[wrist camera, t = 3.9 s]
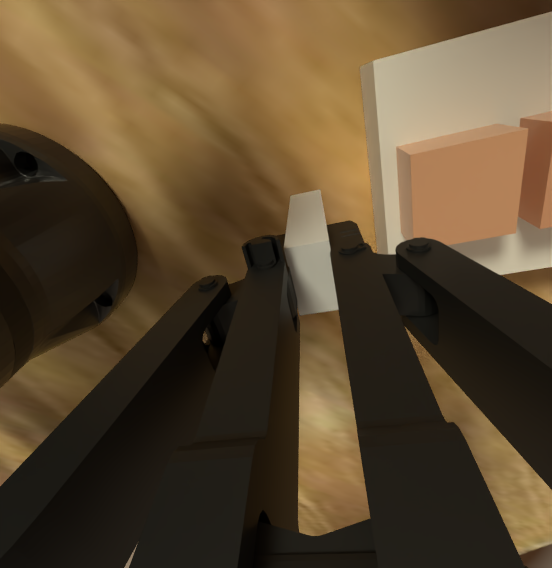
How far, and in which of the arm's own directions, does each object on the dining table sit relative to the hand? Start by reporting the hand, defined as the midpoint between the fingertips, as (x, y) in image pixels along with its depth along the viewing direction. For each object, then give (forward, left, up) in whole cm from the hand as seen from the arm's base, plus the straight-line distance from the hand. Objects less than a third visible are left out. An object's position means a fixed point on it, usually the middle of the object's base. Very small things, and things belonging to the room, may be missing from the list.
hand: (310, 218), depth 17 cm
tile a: (+7, 0, -1) cm, 7 cm away
